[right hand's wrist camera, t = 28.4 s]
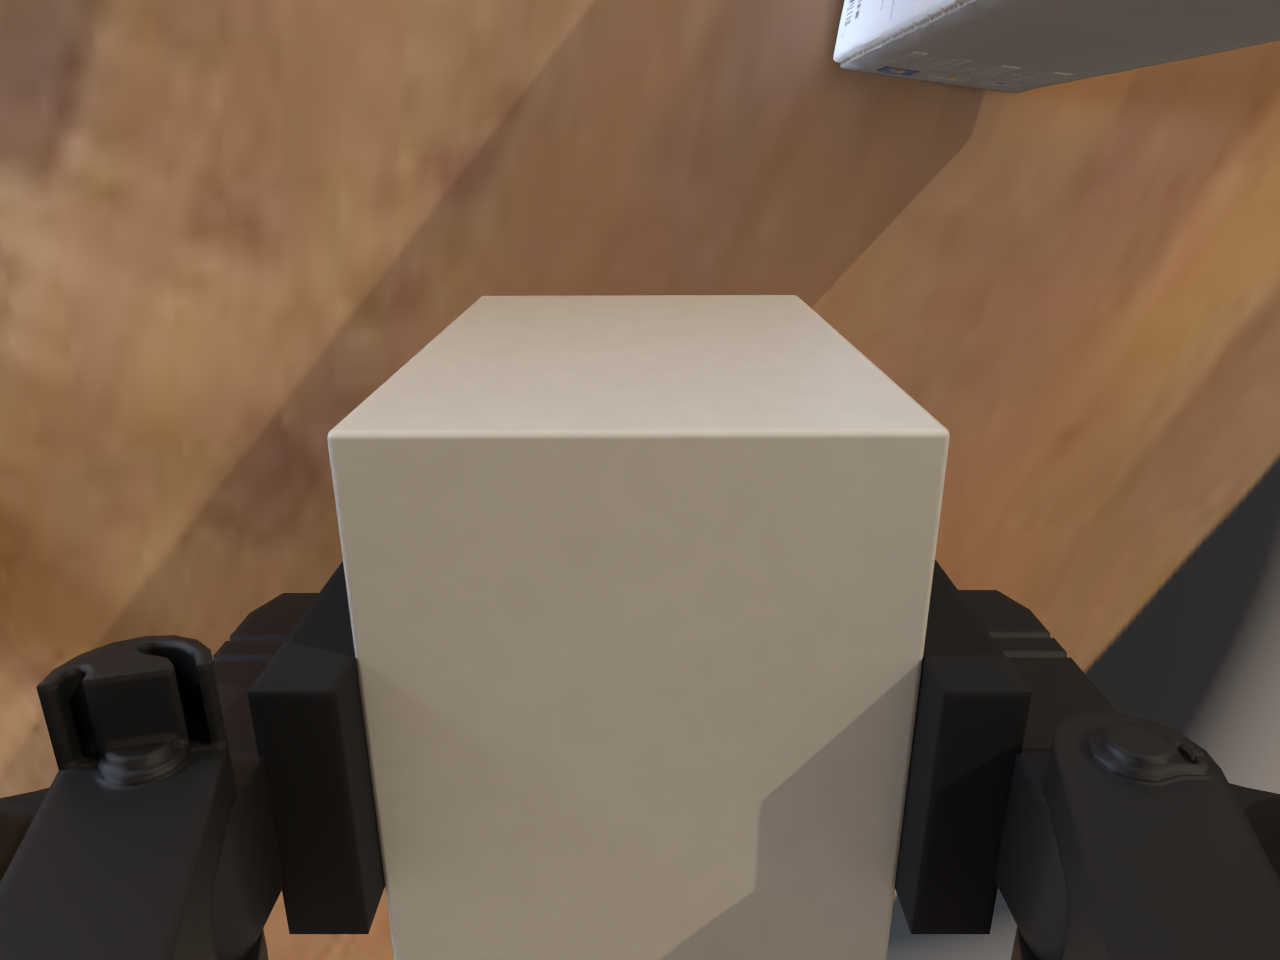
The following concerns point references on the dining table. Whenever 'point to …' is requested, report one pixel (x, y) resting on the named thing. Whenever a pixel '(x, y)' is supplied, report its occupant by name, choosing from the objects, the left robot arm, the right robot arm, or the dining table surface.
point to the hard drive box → (1040, 37)
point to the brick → (639, 629)
